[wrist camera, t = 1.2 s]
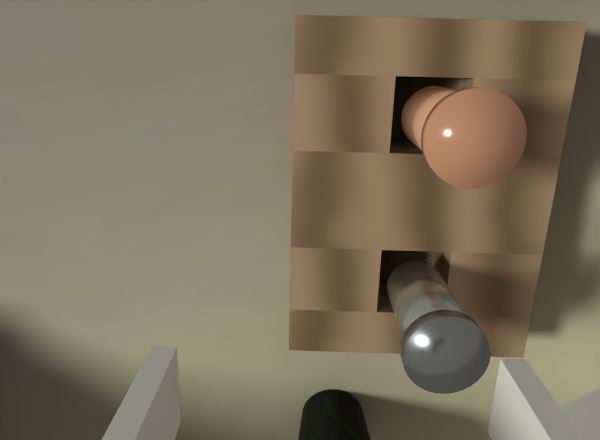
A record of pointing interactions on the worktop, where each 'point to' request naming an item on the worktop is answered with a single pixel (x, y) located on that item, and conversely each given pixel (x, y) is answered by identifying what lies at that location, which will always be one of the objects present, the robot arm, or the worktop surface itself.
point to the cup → (333, 417)
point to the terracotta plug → (466, 133)
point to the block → (418, 174)
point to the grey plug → (435, 331)
